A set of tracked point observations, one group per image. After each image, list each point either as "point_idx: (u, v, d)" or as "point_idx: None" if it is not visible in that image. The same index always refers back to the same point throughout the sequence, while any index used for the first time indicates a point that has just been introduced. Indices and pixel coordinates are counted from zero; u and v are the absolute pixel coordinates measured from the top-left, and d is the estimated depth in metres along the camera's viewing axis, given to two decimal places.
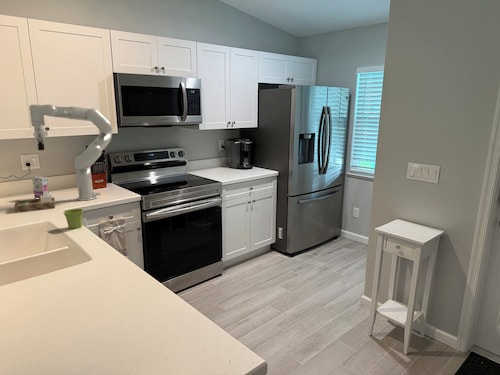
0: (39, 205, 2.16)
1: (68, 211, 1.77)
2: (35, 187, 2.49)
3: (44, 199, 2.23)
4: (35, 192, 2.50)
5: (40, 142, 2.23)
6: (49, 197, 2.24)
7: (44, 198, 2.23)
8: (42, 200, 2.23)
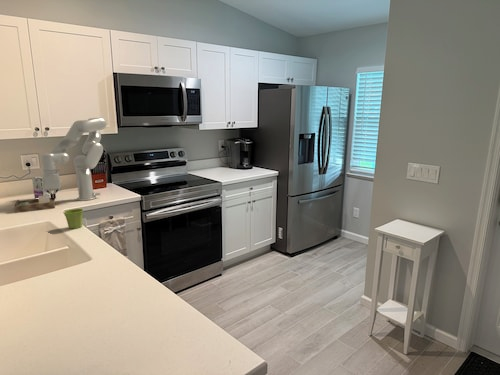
0: (39, 205, 2.16)
1: (68, 211, 1.77)
2: (35, 187, 2.49)
3: (42, 199, 2.23)
4: (35, 192, 2.50)
5: (57, 191, 2.28)
6: (47, 197, 2.24)
7: (42, 198, 2.22)
8: (40, 200, 2.22)
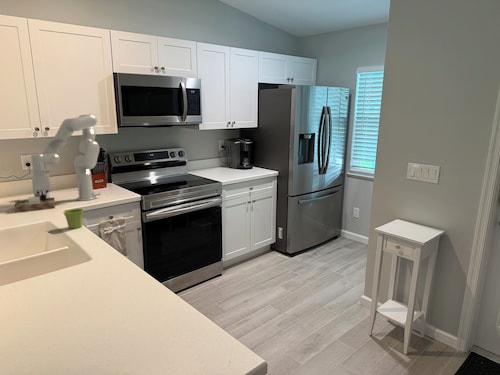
0: (39, 205, 2.16)
1: (68, 211, 1.77)
2: None
3: (32, 200, 2.20)
4: None
5: (47, 192, 2.26)
6: (37, 198, 2.21)
7: (32, 199, 2.20)
8: (30, 201, 2.19)
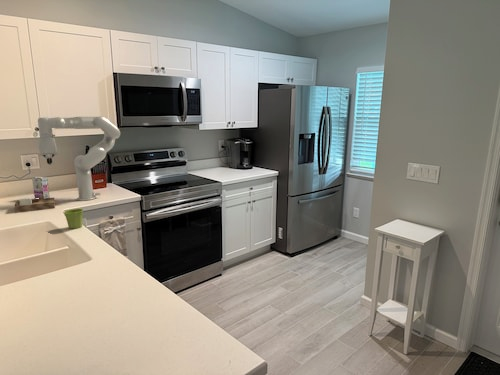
0: (39, 205, 2.16)
1: (68, 211, 1.77)
2: (35, 187, 2.49)
3: (23, 201, 2.18)
4: (35, 192, 2.50)
5: None
6: (28, 199, 2.19)
7: (23, 200, 2.18)
8: (21, 202, 2.17)
